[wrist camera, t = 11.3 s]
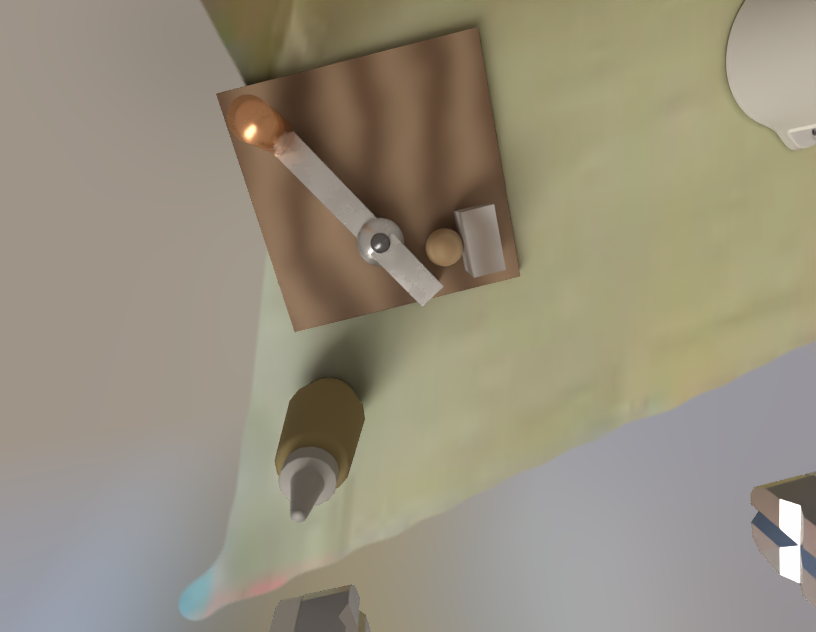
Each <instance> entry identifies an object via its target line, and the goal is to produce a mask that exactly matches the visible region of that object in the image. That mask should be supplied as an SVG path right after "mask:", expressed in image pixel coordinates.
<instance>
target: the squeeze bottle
mask: <svg viewBox="0 0 816 632" xmlns="http://www.w3.org/2000/svg"><path fill="white" fill-rule="evenodd" d="M364 420H365V417H364V410H363V405H362V403H361V402H360V400H359V399H358V397H357V395H356V394H355V392H354V391H353V390H352V388H351V387H350V386H349V385H348V384H347V383H345V382H344V381H342V380H340V379H336V378H332V377H330V378H321V379H319V380H317V381H315V382H312V383H311V384H309V385H307V386H305V387H303V388H301V389H299V390H298V391H297V392H296V394H295V395H294V396H293V397H292V399H291V400H290V402H289V406H288V410H287V413H286V417H285V421H284V425H283V429H282V433H281V437H280V441H279V445H278V449H277V453H276V457H275V465H276V470H277V474H278V475H279V480H278V481H279V486H280V490H281V492H282V493H283V494H284V496H285V497H286V498H287V499H288V500H290V515H291V518H292V520H294V521H295V522H302V521H304V520H305V519H306V518H307V516H308V515H309V513H310V511H311V509H312V508H313V506H316V505H320V504H322V503H324V502H326V501H328V500H329V498H330V497H331V496H332V495H333V494H334V493H335V489H336V488H338V487H339V486H340V485H341V484H342V483H343V482H344V481H345V479H346V478H347V477H348V474H349V471H350V467H351V464H352V461H353V457H354V454H355V451H356V447H357V444H358V440H359V437H360V434H361V430H362V427H363V424H364Z"/></svg>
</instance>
